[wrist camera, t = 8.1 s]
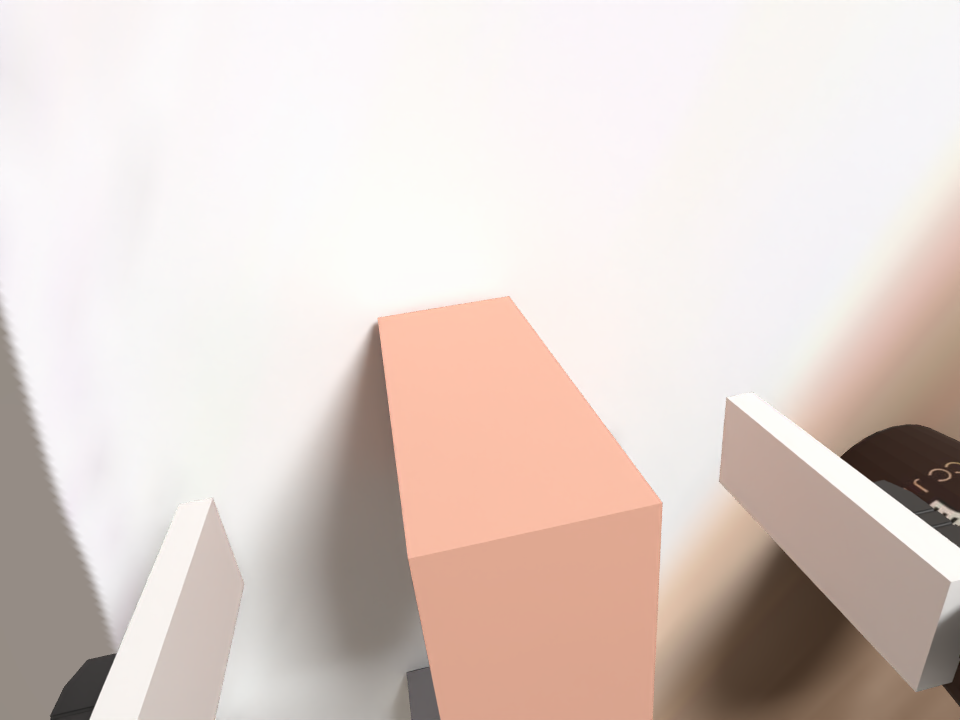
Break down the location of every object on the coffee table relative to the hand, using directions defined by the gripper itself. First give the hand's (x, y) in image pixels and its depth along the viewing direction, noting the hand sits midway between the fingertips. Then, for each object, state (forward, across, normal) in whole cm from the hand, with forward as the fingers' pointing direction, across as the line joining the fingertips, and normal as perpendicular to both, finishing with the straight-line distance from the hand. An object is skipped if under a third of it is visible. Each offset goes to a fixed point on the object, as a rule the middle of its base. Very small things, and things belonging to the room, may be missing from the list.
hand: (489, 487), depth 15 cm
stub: (+5, 0, 0) cm, 5 cm away
